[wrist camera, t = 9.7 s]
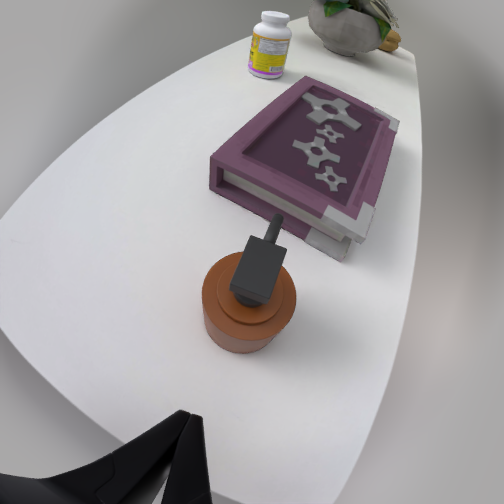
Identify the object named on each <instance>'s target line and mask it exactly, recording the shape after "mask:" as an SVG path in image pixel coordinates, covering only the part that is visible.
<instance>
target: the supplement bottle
mask: <svg viewBox="0 0 504 504" xmlns="http://www.w3.org/2000/svg"><path fill="white" fill-rule="evenodd" d="M261 18H262V23H259V24H257V25H256V26H255V27H254V30H253V37H252V44H251V50H250V57H249V64H248V70H249V71H250V73H252V74H253V75H255V76H258V77H261V78H268V79H273V78H278V77H280V76H281V75H282V74H283V70H284V66H285V61H286V57H287V52H288V48H289V43H290V39H291V35H292V33H291V30H290V29H289V28H288V27H287V23H288V22H289V15H287V14H284V13H280V12H273V11H264V12H262V16H261Z"/></svg>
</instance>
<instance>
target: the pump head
mask: <svg viewBox="0 0 504 504" xmlns="http://www.w3.org/2000/svg"><path fill="white" fill-rule="evenodd" d="M283 221H284V217H283V215H282V214H280V213H276V214H274V215H273V217H272V220H271V222H270V225H269V227H268V230H267V232H266V235H265V237H264V240H263V239H260V238H257V237H255V236H252V235H251V236H250V238H249V240H248V242H247V244H246V247H245V249H244V251H243V254H242V256H241V258H240V261H239V263H238V265H237V267H236V270H235V272H234V274H233V277H232V279H231V281H230V285H229V290H230V291H232V292H235V293H237V294H240V295H242V296H245V297H247V298H250V299H253V300H255V301H258V302H261V303H263V304H267V303H268V301H269V299H270V297H271V294H272V292H273V289H274V286H275V283H276V280H277V278H278V275H279V272H280V269H281V266H282V263H283V260H284V257H285V254H286V252H287V249H286V248H284V247H281V246H278V245H276V244H275V242H276V240H277V237H278V234H279V232H280V229H281V226H282V223H283Z"/></svg>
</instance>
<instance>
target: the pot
mask: <svg viewBox="0 0 504 504" xmlns="http://www.w3.org/2000/svg"><path fill="white" fill-rule="evenodd" d="M400 41H401V38H400V36H399V34H398V33H396V32H395V31H393V30H392V29H391V30H390V31H389V33H388V34H387V36H386V38H385V40H384V42H383V43H382V44H381V45H380V46H379V47H378V48H380V49H382V50H385V51H394V50H396V49H397V48H398V42H400Z"/></svg>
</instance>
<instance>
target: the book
mask: <svg viewBox="0 0 504 504" xmlns="http://www.w3.org/2000/svg"><path fill="white" fill-rule="evenodd" d="M399 122H400V121H399V120H397V119H395V118H393V117H392V116H390V115H388V114H386V113H385V112H383V111H381V110H379V109H377V108H376V107H375V108H374V107H372V106H370V105H368V104H366V103H364V102H362V101H360V100H358V99H356V98H354V97H352V96H350V95H348V94H346V93H344V92H342V91H340V90H338V89H335V88H333V87H331V86H329V85H326V84H324V83H322V82H319V81H317V80H315V79H312V78H310V77H307V76H304V77H303V78H302V79H300V80H299V81H298V82H296V83H295V84H294V85H293V86H291V87H290V88H289V89H287V90H286V91H285V92H284V93H282V94H281V95H280V96H279V97H277V98H276V99H275V100H274V101H273V102H271V103H270V104H269V105H268V106H266V107H265V108H264V109H263V110H262V111H261V112H259V113H258V114H257V115H256V116H255V117H253V118H252V119H251V120H250V121H249V122H248V123H247V124H245V125H244V126H243V127H242V128H241V129H240V130H239V131H237V132H236V133H235V134H234V135H233V136H232V137H231V138H230V139H229V140H227V141H226V142H225V143H224V144H223V145H222V146H221V147H220V148H219V149H218V150H217V151H216V152H215V153H213V154H212V155H211V156H210V179H209V189H210V190H212V191H214V192H216V193H218V194H220V195H222V196H224V197H226V198H227V199H229V200H231V201H233V202H235V203H237V204H239V205H241V206H243V207H245V208H246V209H248V210H250V211H252V212H254V213H256V214H258V215H259V216H261V217H263V218H265V219H267V220H269V221H271V220H272V217H273V215H274V214H276V213H280V214H282V215H283V217H284V221H283V223H282V226H281V227H282V228H283V229H285V230H287V231H289V232H291V233H292V234H294V235H296V236H298V237H300V238H301V239H303V240H304V242H306V243H308V244H310V245H311V246H313V247H315V248H317V249H318V250H320V251H322V252H324V253H325V254H327V255H329V256H331V257H332V258H334V259H336V260H338V261H339V262H341V261H342V260H343V259H344V257H345V255H346V252H347V250H348V247H349V245H350V242H351V240H352V239H353V240H354V241H356V242H358V243H359V244H361V243H362V242H363V241H364V240H365V238H366V235H367V232H368V229H369V227H370V224H371V221H372V218H373V215H374V212H375V209H376V208H374V207H375V204H376V201H377V198H378V194H379V191H380V188H381V185H382V181H383V178H384V175H385V171H386V168H387V164H388V161H389V157H390V153H391V150H392V146H393V142H394V138H395V135H396V133H397V130H398V126H399Z"/></svg>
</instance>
